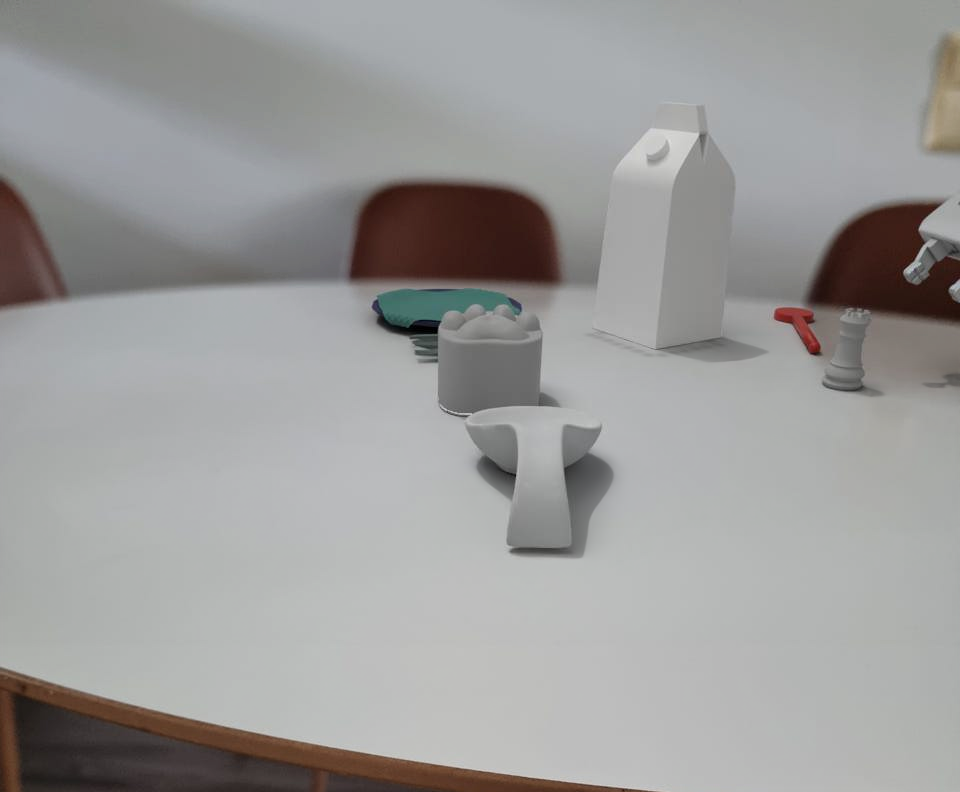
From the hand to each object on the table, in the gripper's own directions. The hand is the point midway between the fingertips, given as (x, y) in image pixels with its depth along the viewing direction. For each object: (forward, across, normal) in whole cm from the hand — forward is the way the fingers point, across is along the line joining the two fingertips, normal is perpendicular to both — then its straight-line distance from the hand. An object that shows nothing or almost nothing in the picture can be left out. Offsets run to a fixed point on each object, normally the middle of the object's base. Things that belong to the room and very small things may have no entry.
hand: (930, 288), depth 102 cm
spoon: (+9, -24, +6) cm, 26 cm away
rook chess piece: (+12, -1, +3) cm, 13 cm away
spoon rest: (+40, +26, -25) cm, 54 cm away
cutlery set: (+41, -27, -26) cm, 56 cm away
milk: (+23, -24, -8) cm, 34 cm away
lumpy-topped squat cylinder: (+41, +1, -26) cm, 48 cm away
